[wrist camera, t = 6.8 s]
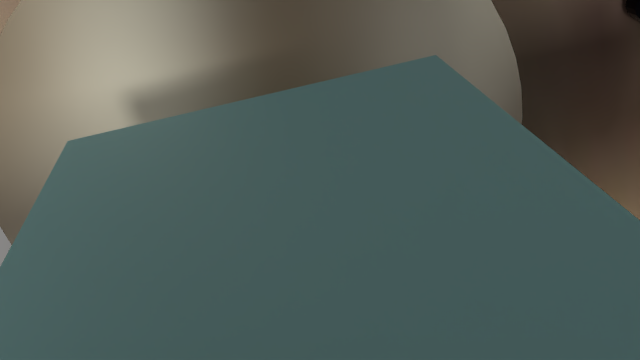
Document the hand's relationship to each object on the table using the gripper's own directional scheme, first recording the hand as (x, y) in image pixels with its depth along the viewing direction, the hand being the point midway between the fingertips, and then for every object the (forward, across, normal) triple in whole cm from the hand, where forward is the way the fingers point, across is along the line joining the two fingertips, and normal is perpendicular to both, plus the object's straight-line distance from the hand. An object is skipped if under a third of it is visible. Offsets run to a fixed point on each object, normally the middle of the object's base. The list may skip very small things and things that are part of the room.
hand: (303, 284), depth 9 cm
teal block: (+1, 0, 0) cm, 1 cm away
